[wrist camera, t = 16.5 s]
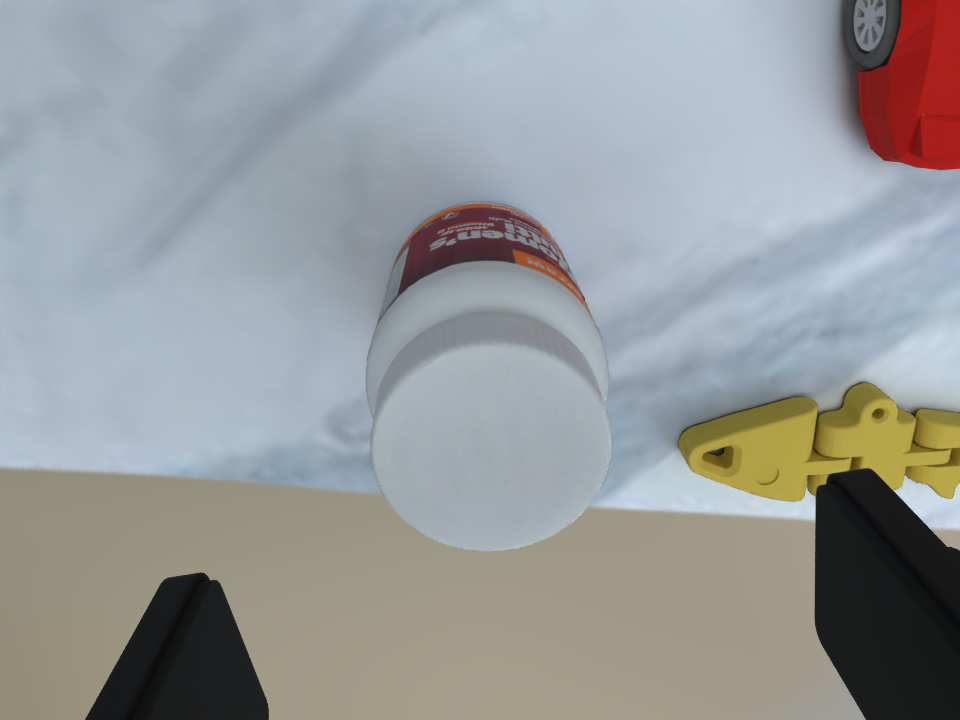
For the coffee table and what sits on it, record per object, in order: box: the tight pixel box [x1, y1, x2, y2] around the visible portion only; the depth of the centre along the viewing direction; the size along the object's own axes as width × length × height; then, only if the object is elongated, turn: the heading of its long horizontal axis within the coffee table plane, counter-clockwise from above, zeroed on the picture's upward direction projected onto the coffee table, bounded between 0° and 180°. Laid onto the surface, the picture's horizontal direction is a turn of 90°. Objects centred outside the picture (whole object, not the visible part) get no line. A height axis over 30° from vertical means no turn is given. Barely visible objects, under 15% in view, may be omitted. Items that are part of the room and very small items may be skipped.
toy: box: [679, 383, 960, 502], centre depth 28 cm, size 15×1×5 cm
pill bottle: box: [366, 202, 612, 551], centre depth 21 cm, size 6×6×11 cm
